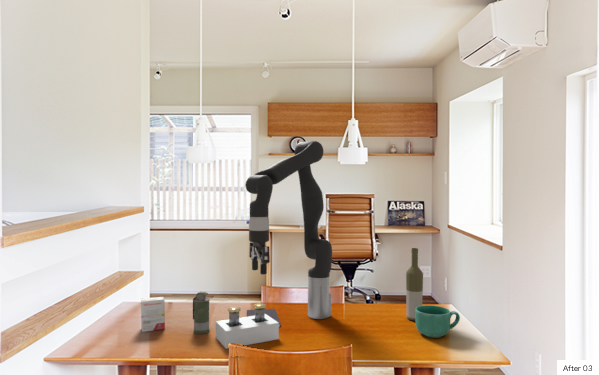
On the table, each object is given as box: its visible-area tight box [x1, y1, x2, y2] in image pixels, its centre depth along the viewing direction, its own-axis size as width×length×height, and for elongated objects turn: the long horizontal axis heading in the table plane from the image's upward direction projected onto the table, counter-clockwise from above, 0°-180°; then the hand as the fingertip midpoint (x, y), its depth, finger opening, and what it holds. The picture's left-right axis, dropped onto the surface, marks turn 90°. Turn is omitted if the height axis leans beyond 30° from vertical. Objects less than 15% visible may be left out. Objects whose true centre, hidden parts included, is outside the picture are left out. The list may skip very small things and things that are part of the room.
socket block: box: [215, 314, 280, 349], centre depth 156 cm, size 20×12×6 cm, turn 118°
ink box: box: [140, 296, 166, 333], centre depth 166 cm, size 9×5×12 cm, turn 110°
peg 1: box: [227, 306, 242, 327], centre depth 154 cm, size 5×5×6 cm
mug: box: [414, 304, 461, 339], centre depth 162 cm, size 17×13×10 cm
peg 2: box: [253, 303, 267, 323], centre depth 159 cm, size 5×5×6 cm
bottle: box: [405, 247, 424, 322], centre depth 180 cm, size 7×7×30 cm
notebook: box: [246, 308, 281, 328], centre depth 179 cm, size 13×2×21 cm
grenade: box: [192, 291, 210, 335], centre depth 163 cm, size 6×6×15 cm
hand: (259, 272), depth 159 cm, fingers open, 8 cm apart
